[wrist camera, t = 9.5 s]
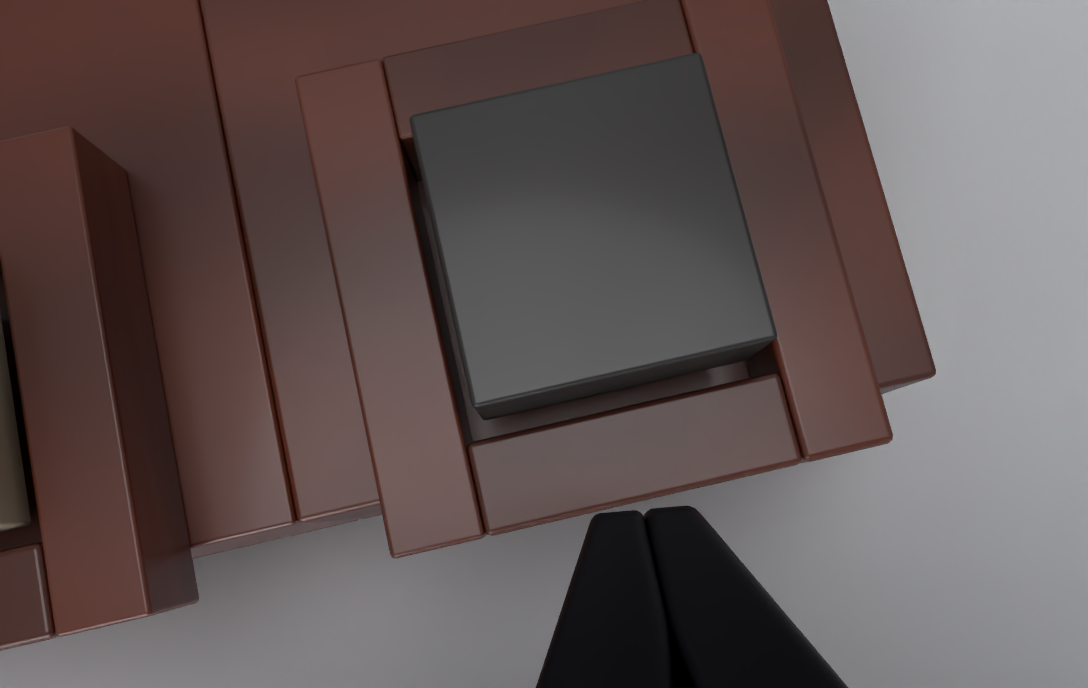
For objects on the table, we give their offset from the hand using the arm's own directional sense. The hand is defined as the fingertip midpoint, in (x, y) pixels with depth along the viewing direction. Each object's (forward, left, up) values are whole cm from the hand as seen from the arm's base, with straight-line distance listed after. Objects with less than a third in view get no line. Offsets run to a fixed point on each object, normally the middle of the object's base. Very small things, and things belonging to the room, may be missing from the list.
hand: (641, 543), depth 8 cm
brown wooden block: (+4, -4, -11) cm, 12 cm away
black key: (+2, -3, -5) cm, 6 cm away
